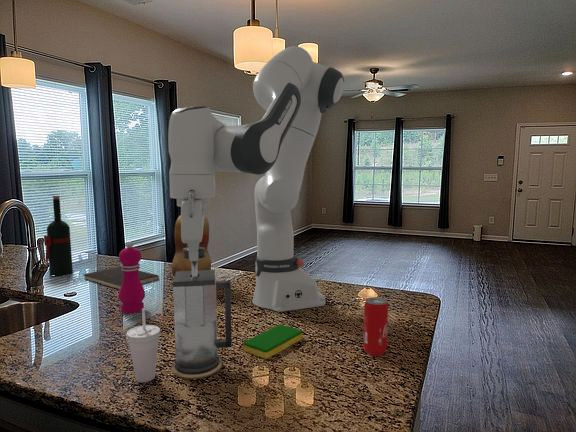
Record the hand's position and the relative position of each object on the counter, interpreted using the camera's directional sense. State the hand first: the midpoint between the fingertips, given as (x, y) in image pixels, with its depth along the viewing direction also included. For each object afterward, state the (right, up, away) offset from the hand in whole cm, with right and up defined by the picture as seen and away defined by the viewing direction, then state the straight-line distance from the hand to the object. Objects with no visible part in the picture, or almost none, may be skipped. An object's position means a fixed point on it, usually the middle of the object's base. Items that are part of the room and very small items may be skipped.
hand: (194, 257), depth 85 cm
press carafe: (0, -23, +3) cm, 24 cm away
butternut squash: (-15, -16, +64) cm, 67 cm away
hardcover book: (-42, -16, +69) cm, 82 cm away
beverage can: (+39, -23, +10) cm, 46 cm away
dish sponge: (+16, -23, +14) cm, 31 cm away
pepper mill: (-26, -19, +36) cm, 49 cm away
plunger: (0, -12, +2) cm, 12 cm away
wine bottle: (-69, -14, +75) cm, 103 cm away
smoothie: (-9, -24, -2) cm, 26 cm away
